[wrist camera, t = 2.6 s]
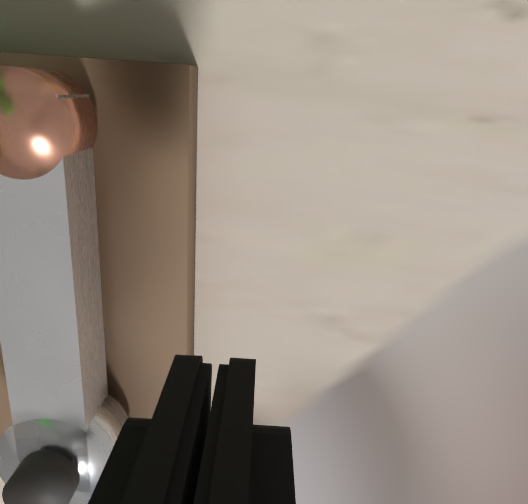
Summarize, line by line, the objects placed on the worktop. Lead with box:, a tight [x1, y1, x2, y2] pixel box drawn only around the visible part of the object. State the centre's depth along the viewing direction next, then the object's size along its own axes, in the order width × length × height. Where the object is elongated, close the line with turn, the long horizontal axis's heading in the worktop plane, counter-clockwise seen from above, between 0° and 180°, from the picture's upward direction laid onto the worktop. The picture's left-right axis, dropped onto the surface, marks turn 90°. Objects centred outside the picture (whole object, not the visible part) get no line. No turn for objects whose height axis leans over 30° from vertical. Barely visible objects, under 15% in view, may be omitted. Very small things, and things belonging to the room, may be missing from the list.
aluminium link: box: [0, 66, 128, 504], centre depth 14 cm, size 15×4×2 cm, turn 176°
